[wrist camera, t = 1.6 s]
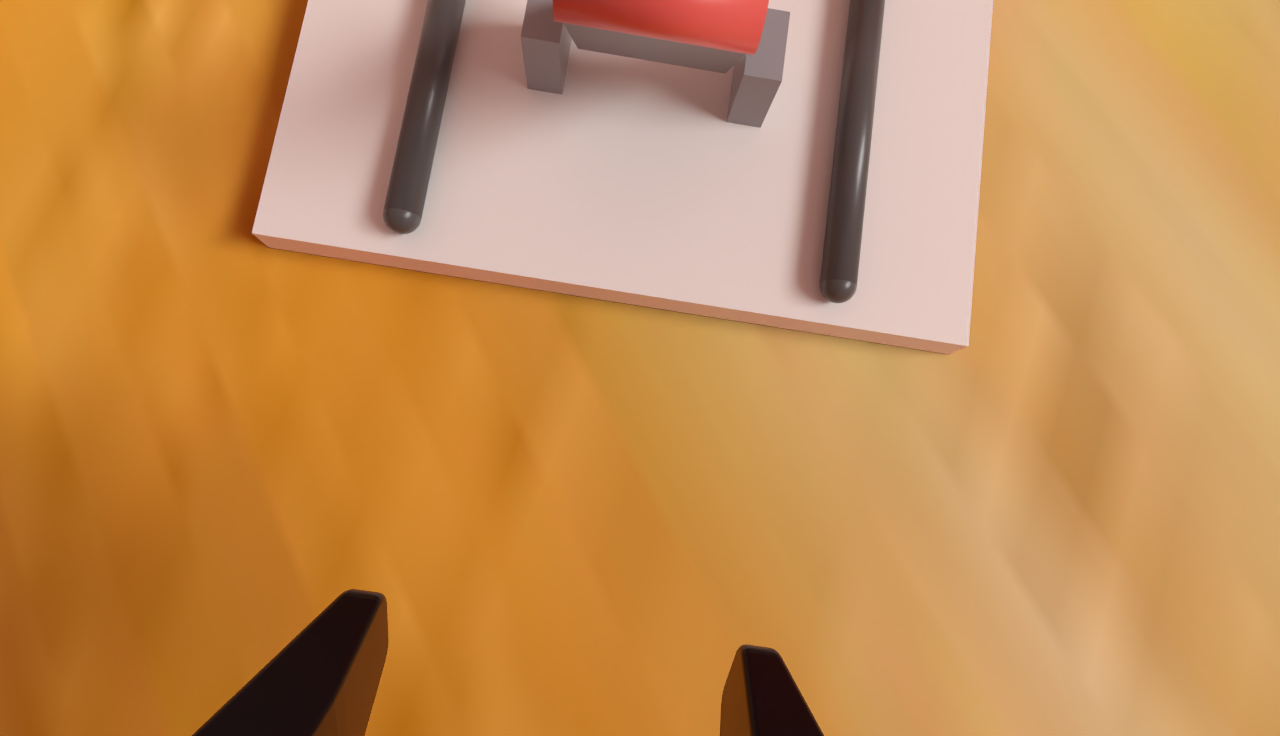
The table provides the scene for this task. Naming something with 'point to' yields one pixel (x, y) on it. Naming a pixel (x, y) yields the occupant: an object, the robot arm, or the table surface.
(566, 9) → the lever
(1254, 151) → the table surface
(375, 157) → the plate
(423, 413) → the table surface
